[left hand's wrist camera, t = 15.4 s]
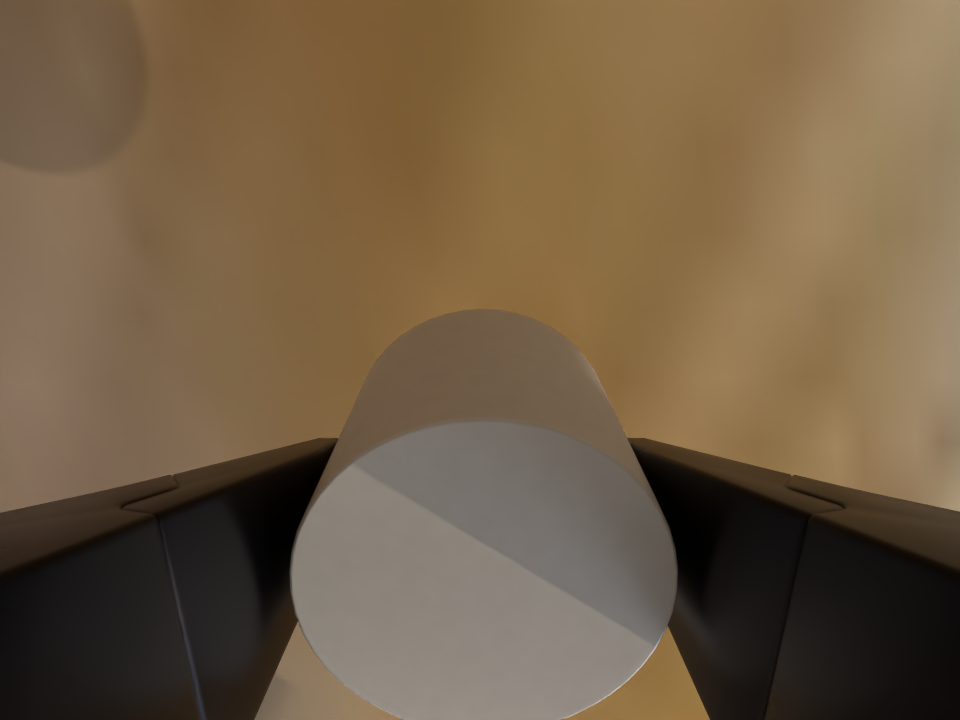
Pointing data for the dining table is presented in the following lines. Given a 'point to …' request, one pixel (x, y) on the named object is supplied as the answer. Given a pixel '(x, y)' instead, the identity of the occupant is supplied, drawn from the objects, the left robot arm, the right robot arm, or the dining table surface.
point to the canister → (483, 531)
